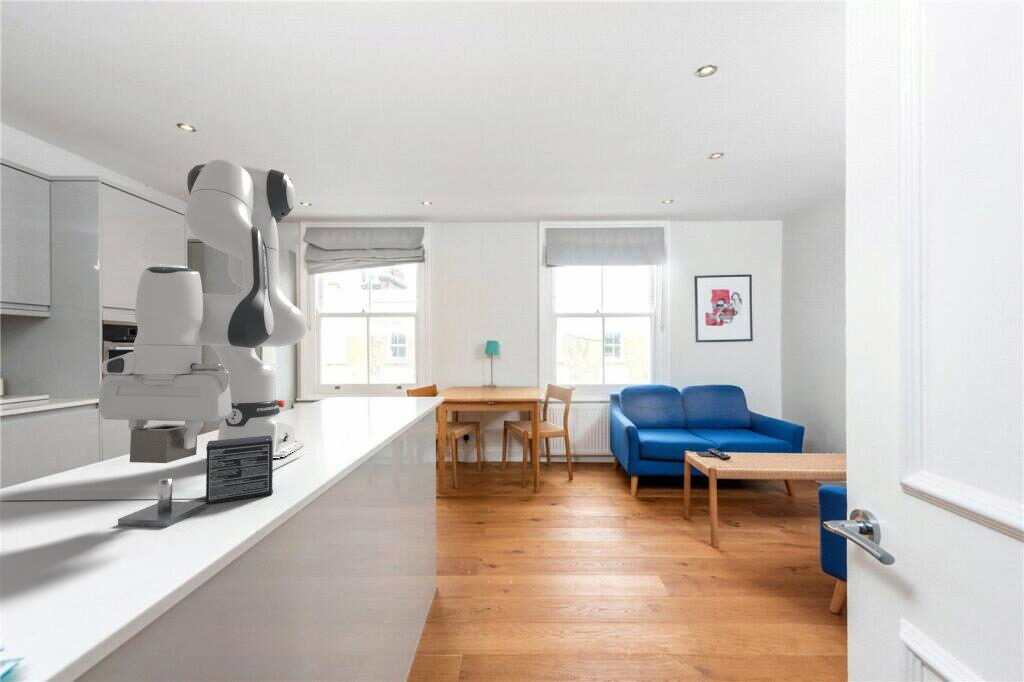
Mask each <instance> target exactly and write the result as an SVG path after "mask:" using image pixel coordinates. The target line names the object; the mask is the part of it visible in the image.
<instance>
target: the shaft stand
mask: <svg viewBox="0 0 1024 682" xmlns="http://www.w3.org/2000/svg"><path fill="white" fill-rule="evenodd" d="M157 483H158V485H157V486H158V487H157V503H155V504H152V505H149V506H146V507H144V508H142V509H138V510H137V511H134V512H132V513H129V514H126V515H124V516H122V517H119V518H118V519H117V526H123V527H125V526H126V527H127V526H128V527H151V528H153V527H154V528H168V527H171V526H173V525H175V524H178V523H179V522H181V521H183V520H186V519H187V518H190V517H191V516H193V515H196V514H198V513H200V512H202V511H204V510H206V509H207V506H208V505H207V502H205V501H204V502H202V501H178V500H177V501H174V500H173V478H172V477H167V478H166V477H165V478H161V479H158V481H157Z"/></svg>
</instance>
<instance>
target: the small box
mask: <svg viewBox="0 0 1024 682" xmlns="http://www.w3.org/2000/svg"><path fill="white" fill-rule="evenodd" d="M205 448H206V449H205V450H206V469H205V470H206V471H205V472H206V475H205V476H206V478H205V480H206V483H205V501H204V502H207V506H209V505H214V504H221V503H227V502H234V501H239V500H247V499H253V498H260V497H266V496H272V495H273V494H274V489H273V475H274V474H273V472H274V471H273V470H274V469H273V464H274V463H273V462H274V461H273V460H274V459H273V440H272V437H271V436H270V435H269V436H258V437H247V438H236V439H225V440H218V439H216V440H215V439H214V440H208V442H207V444H206V447H205Z"/></svg>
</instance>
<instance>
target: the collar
mask: <svg viewBox="0 0 1024 682" xmlns="http://www.w3.org/2000/svg"><path fill="white" fill-rule="evenodd" d="M145 427H146V426H145ZM187 430H188V428H185V424H175V423H173V424H170V423H169V424H166V423H165V424H164V423H163V424H159V425H153V426H148V427H146V428H141V429H135V430H130V446H129V449H130V450H129V451H130V452H129V463H143V464H145V463H147V464H169V463H172V462H175V461H179V460H182V459H185V458H190V457H193V456H196V455H197V448H198V446H197V444H198V435H197V436H196V441H195V447H194V448H190V449H179V447H178V445H179V438H182V437H184V436H185V434H186V432H187Z"/></svg>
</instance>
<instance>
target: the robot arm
mask: <svg viewBox="0 0 1024 682" xmlns="http://www.w3.org/2000/svg"><path fill="white" fill-rule="evenodd" d="M186 181H187V182H186V183H187V190H188V195H189V196H188V197H189V198H188V200H187V204H186V209H185V220H186V224H187V226H188V228H189V230H190V231H191V233H192V234H193V235H194V236H195V237H196V238H197V239H198V240H199V241H200V242H202V243H203V244H204V245H206V246H208V247H211V248H212V249H213V250H216V251H220V252H222V253H225V254H227V255H228V264H227V265H228V266H227V267H228V268H227V273H228V274H227V275H228V277H229V278H230V280H231V282H233V284H235V285H236V286H238V287H240V288H242V291H240V292H238V293H236V294H235V293H234V294H225V293H224V294H222V293H205V292H203V286H202V285H203V284H202V278H201V275H200V272H199V271H197V270H196V269H193V268H189V267H176V266H175V267H174V266H173V267H172V266H151V267H148V268H145V269H144V270H142V273H141V276H140V278H139V281H138V282H139V283H138V287H137V291H136V297H135V298H136V299H135V308H134V309H135V311H134V319H135V323H136V327H137V334H136V337H135V339H134V342H133V351H130V352H127V353H125V354H122V355H118V356H115V357H112V358H110V359H106V360H104V361H102V363H101V372H102V374H104V375H105V377H103V378H102V380H101V383H100V387H99V396H98V411H99V414H100V415H101V417H102V418H103V419H104V420H114V421H115V420H121V421H122V420H123V421H124V420H125V421H126V420H127V421H128V429H129V431H131V430H135V429H141V428H146V426H148V425H149V421H164V422H165V421H171V422H172V421H173V422H174V421H175V422H184V425H185V428H188V430H187V432H186V434H185V436H184V437H182V438H179V445H178V447H179V449H190V448H194V447H195V441H196V436H197V437H198V434H199V433H200V432H201V430H202V428H203V427H204V422H218V421H222V422H221V423H220V424H219V428H218V434H217V435H218V436H217V440H225V439H236V438H247V437H258V436H269V435H270V436H271V437H272V440H273V457H282V456H286V455H288V454H290V453H291V454H293V453H295V452H296V451H298V450H300V449H301V448H302V447H305V443H304V442H303V441H301V440H300V441H299V440H295V436H296V435H295V427H294V425H293V424H292V423H291V422H290V421H288V420H287V419H286V418H285V417H283V416H282V415H281V414H280V413H281V410H280V408H285V406H286V401H285V399H276V398H277V397H276V392H277V389H276V386H277V373H276V370H275V368H274V367H273V366H271V365H270V364H269V363H268V362H266V361H263V360H261V359H260V357H258V354H257V353H256V349H255V348H257V347H265V348H266V347H269V348H270V347H271V348H272V347H273V348H274V347H277V348H278V347H284V346H286V347H287V346H291V345H295V344H298V343H299V342H301V340H303V338H304V336H305V334H306V331H307V326H308V325H307V320H306V316H305V315H304V313H303V311H302V310H300V309H299V307H297V306H296V305H294V304H293V303H292V302H291V301H290V300H289V298H288V297H287V296H286V294H285V292H284V290H283V288H282V284H281V279H280V268H279V267H280V266H279V265H280V264H279V262H280V261H279V260H280V255H279V254H280V248H279V247H280V244H279V243H280V242H279V240H280V239H279V234H278V232H279V231H278V227H277V224H278V223H280V222H281V221H282V219H283V218H285V217H287V216H288V215H289V214H290V213H291V212H292V211H293V209H294V206H295V202H296V189H295V187H294V184H293V181H292V179H291V178H290V177H289V175H288V174H287V173H285V172H283V171H279V170H277V169H273V168H272V169H270V170H269V169H266V168H260V167H255V166H249V165H243V164H241V165H240V164H238V163H237V162H233V161H231V160H228V159H214V160H211V161H209V162H207V163H204V164H197V165H195V166H193V168H191V169H190V170H189V171H188V174H187V179H186ZM203 346H209V347H211V348H212V349H213V351H214V352H215V353H216V356H218V358H219V360H220V363H221V364H219V363H210V364H208V363H207V364H206V363H202V359H203V358H202V355H203ZM294 451H295V452H294ZM292 452H293V453H292ZM291 454H290V455H291ZM288 456H289V455H288Z"/></svg>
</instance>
